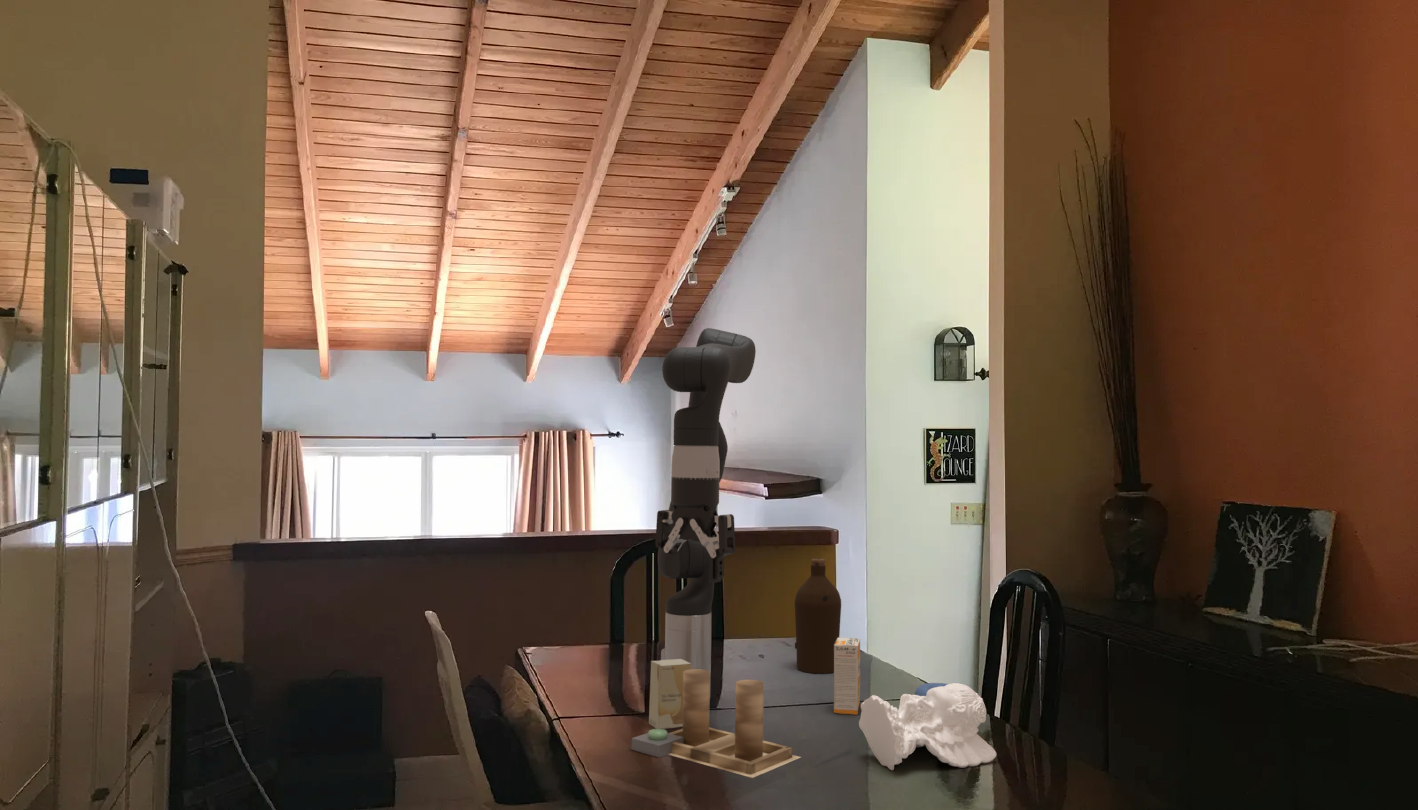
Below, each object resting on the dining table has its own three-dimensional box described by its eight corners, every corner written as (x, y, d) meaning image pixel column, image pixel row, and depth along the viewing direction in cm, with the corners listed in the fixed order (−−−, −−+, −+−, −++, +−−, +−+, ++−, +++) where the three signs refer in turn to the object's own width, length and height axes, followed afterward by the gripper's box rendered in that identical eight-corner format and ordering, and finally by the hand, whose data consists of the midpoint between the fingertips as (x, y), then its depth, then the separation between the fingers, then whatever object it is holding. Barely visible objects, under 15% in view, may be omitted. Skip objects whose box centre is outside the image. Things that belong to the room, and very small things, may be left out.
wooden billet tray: (644, 755, 160) (644, 738, 161) (695, 737, 170) (695, 721, 171) (752, 785, 147) (752, 767, 147) (801, 764, 157) (801, 747, 157)
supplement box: (858, 715, 186) (858, 645, 187) (833, 713, 187) (833, 644, 188) (860, 704, 194) (861, 637, 195) (836, 702, 195) (836, 636, 196)
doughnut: (964, 714, 187) (963, 689, 188) (911, 711, 190) (911, 687, 191) (969, 706, 196) (967, 682, 197) (918, 704, 200) (917, 681, 200)
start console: (631, 756, 160) (631, 731, 160) (656, 748, 164) (656, 724, 164) (658, 764, 156) (659, 739, 156) (683, 755, 160) (683, 731, 161)
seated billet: (676, 745, 162) (677, 672, 162) (694, 739, 165) (695, 667, 166) (697, 751, 159) (698, 676, 159) (714, 745, 162) (715, 671, 163)
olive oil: (850, 669, 224) (851, 559, 225) (820, 676, 217) (820, 563, 218) (814, 662, 232) (815, 555, 233) (784, 668, 225) (785, 558, 226)
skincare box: (657, 736, 171) (659, 665, 171) (647, 730, 175) (648, 660, 175) (691, 732, 174) (692, 662, 174) (680, 725, 178) (681, 657, 178)
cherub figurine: (850, 688, 164) (951, 667, 171) (858, 763, 164) (959, 739, 171) (891, 706, 152) (998, 682, 159) (899, 787, 152) (1006, 760, 159)
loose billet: (729, 760, 155) (730, 683, 155) (746, 753, 158) (746, 678, 159) (751, 766, 152) (752, 687, 152) (768, 759, 155) (769, 682, 156)
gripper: (746, 476, 152) (744, 581, 151) (676, 473, 161) (675, 572, 160) (715, 477, 146) (714, 586, 145) (645, 473, 155) (643, 577, 154)
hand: (693, 579), depth 153 cm, fingers open, 8 cm apart
